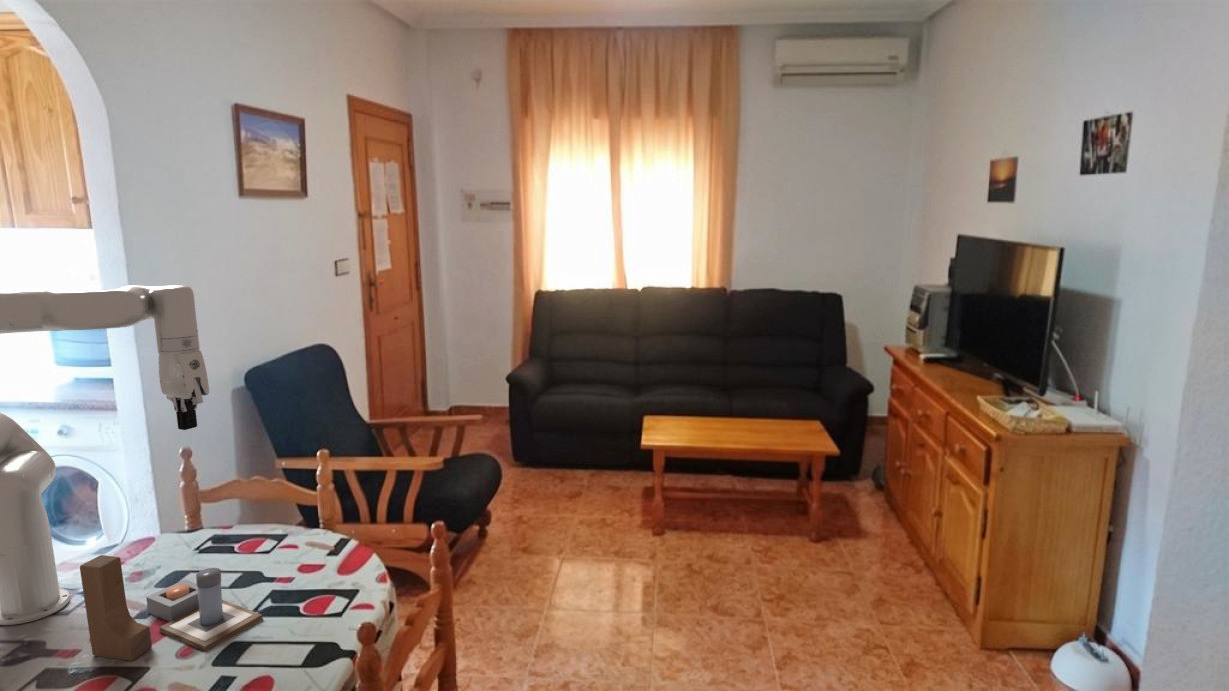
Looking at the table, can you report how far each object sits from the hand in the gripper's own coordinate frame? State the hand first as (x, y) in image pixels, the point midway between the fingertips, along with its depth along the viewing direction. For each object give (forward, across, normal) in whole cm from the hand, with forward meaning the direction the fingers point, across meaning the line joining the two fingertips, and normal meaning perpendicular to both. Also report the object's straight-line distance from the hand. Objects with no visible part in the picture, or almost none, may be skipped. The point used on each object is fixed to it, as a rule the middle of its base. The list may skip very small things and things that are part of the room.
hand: (187, 428), depth 151 cm
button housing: (+35, -7, +10) cm, 37 cm away
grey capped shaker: (+34, -19, +11) cm, 40 cm away
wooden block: (+35, -12, +24) cm, 44 cm away
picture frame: (+35, -19, +11) cm, 41 cm away
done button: (+33, -7, +10) cm, 36 cm away
